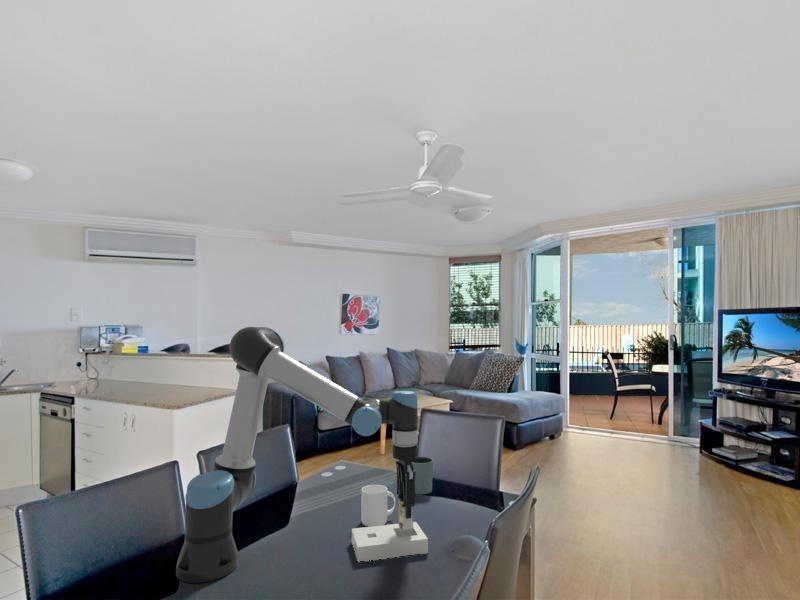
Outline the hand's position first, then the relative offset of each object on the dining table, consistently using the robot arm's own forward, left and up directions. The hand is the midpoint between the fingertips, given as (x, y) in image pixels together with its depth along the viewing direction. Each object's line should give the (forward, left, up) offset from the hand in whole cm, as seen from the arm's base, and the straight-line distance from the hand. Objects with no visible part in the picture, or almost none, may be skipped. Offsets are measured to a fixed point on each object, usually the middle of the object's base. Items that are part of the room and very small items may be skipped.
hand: (405, 525), depth 130 cm
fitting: (0, 0, 0) cm, 0 cm away
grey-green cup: (+18, +44, -6) cm, 48 cm away
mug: (-4, +19, -6) cm, 20 cm away
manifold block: (-5, 0, -6) cm, 8 cm away
